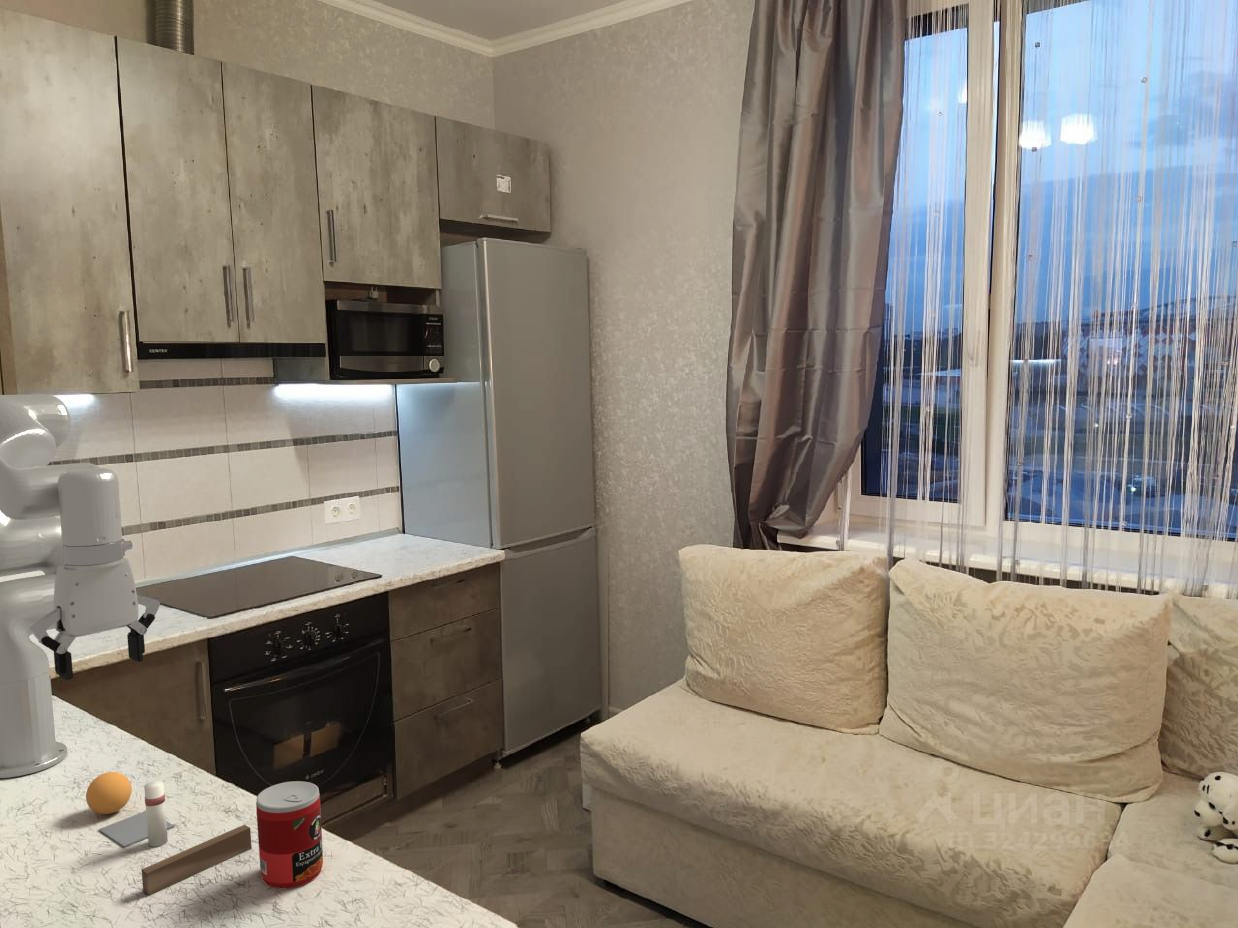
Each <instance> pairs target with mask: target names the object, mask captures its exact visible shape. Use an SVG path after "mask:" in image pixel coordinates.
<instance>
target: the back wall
mask: <svg viewBox="0 0 1238 928" xmlns="http://www.w3.org/2000/svg"><path fill="white" fill-rule="evenodd" d="M252 848H253V847H252V834H251V827H249V826H248V825H246V824H243V825H239V826H238V827H236V828H234V829H231V830H228V831H226V832H224V833H221V834H220V835H217V836H215V837H212V838H210V839H208V840H206V841H203V842H202V843H199V844H196V845H195V846H192V847H189V848H187V849H184V850H182V851H180V852H178V853H176V854H174V855H171V856H169V857H167V858H164V859H162V860H160V861H158V862H156V863H153V864H151V865H148V866H147V867H143V868H141V881H142V892H143V893H145V894H146V895H147V896H148V897H149V896H151V895H153V894H156V893H158V892H159V891H162V890H164V889H167V888H168V887H171V886H173V885H175V884H177V883H179V882H181V881H184V880H185V879H189V878H190V877H192V876H195V875H197V874H198V873H200V872H201V873H202V872H203V871H205V870H208V869H210V868H212V867H214V866H216V865H218V864H221V863H224V862H225V861H227V860H229V859H231V858H234V857H236V856H238V855H240V854H242V853H244V852H247V851H248V850H250V849H252Z"/></svg>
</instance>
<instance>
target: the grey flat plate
mask: <svg viewBox="0 0 1238 928" xmlns="http://www.w3.org/2000/svg"><path fill="white" fill-rule="evenodd" d="M166 824H167V831H168V830H170V829H172V828H175V825H174V824H172V823H171V822H169V821H167V820H166ZM98 831H99V832H101V833H102V834H103V835H105V836H107V837H108V838H109V839H111V840H113V841H114V842H116V843H117V844H118V845H120V846H121V847H122V848H127V847H129V846H131V845H134V844H137V843H139V842H141V841H143V840H147V839H148V829H147V816H146V810H145V811H142V812H139V813H137V814H134V815H132V816H129V817H127V818H124V819H121V820H119V821H116V822H114V823H111V824H109V825H108V824H107V825H106V826H103V827H100V828H99V829H98Z"/></svg>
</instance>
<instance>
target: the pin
mask: <svg viewBox="0 0 1238 928" xmlns="http://www.w3.org/2000/svg"><path fill="white" fill-rule="evenodd" d="M143 788H144V805H145V811H146V816H147V829H148V838H147V839H148V847H150V848H157V847H161V846H164V845H165V844H167V843H168V839H169V838H168V830H167V824H166V821H167V814H166V813H167V812H166V793H165V785H164V781H162V780H156V781H155V780H154V781H151V782H148V783H145V785H144V787H143Z"/></svg>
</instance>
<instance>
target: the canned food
mask: <svg viewBox="0 0 1238 928" xmlns="http://www.w3.org/2000/svg"><path fill="white" fill-rule="evenodd" d="M320 796H321V794H320V790H319V786H317V785H316V784H314V783H312V782H308V781H300V780H296V781H294V780H293V781H284V782H281V783H277V784H274V785H271V786H269V787H266V788H264V789H263V790H262V791H260V792H259V793H258V795H257V796H256V800H255V801H256V802H255V804H256V811H255V812H256V823H257V827H256V828H257V837H258V838H257V839H258V855H259V870H260V871H259V872H260V876H261V879H262V881H263V883H264V884H266V885H267V886H269V887H271V888H275V889H280V888H281V889H283V888H284V890H285V888H286V889H293V888H298V887H301V886H303V885H307V884H308V882H309V883H310V882H312V881H314V879H316V878H317V877H318V876H319V875H320V874H321V872H322V868H323V865H324V854H323V853H324V852H323V849H324V848H323V835H322V834H323V833H322V811H321V810H322V809H321V797H320ZM300 885H301V886H300ZM297 886H298V887H297Z"/></svg>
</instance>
